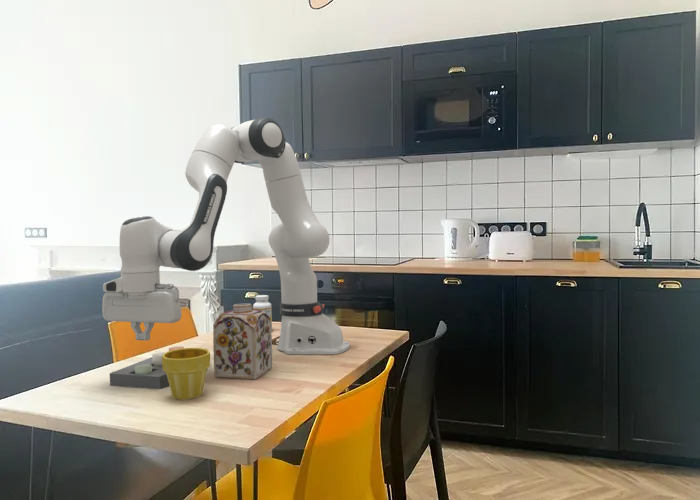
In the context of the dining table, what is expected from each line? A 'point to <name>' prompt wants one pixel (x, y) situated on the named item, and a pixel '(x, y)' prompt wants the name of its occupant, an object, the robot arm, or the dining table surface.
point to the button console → (140, 377)
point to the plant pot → (186, 371)
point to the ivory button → (157, 359)
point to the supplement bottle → (263, 305)
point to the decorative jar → (242, 343)
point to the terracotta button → (175, 348)
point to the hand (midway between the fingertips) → (143, 339)
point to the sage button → (143, 369)
